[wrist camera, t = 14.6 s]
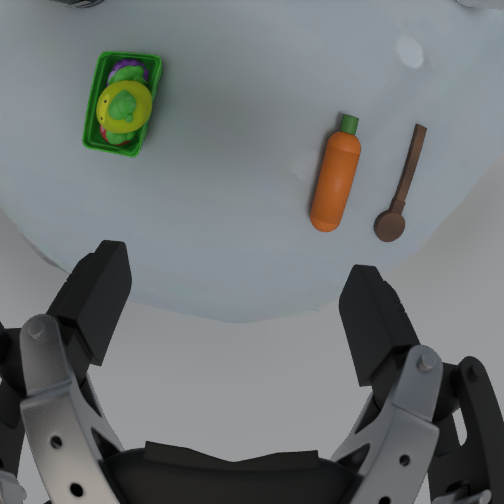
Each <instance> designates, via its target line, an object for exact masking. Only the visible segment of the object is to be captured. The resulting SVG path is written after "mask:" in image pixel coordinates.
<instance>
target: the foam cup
mask: <svg viewBox="0 0 504 504" xmlns="http://www.w3.org/2000/svg"><path fill="white" fill-rule="evenodd" d="M456 1H458V2H459V3H460V4H461V5H464V6H467V7H478V8H489V9H498V10H504V0H456Z"/></svg>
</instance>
